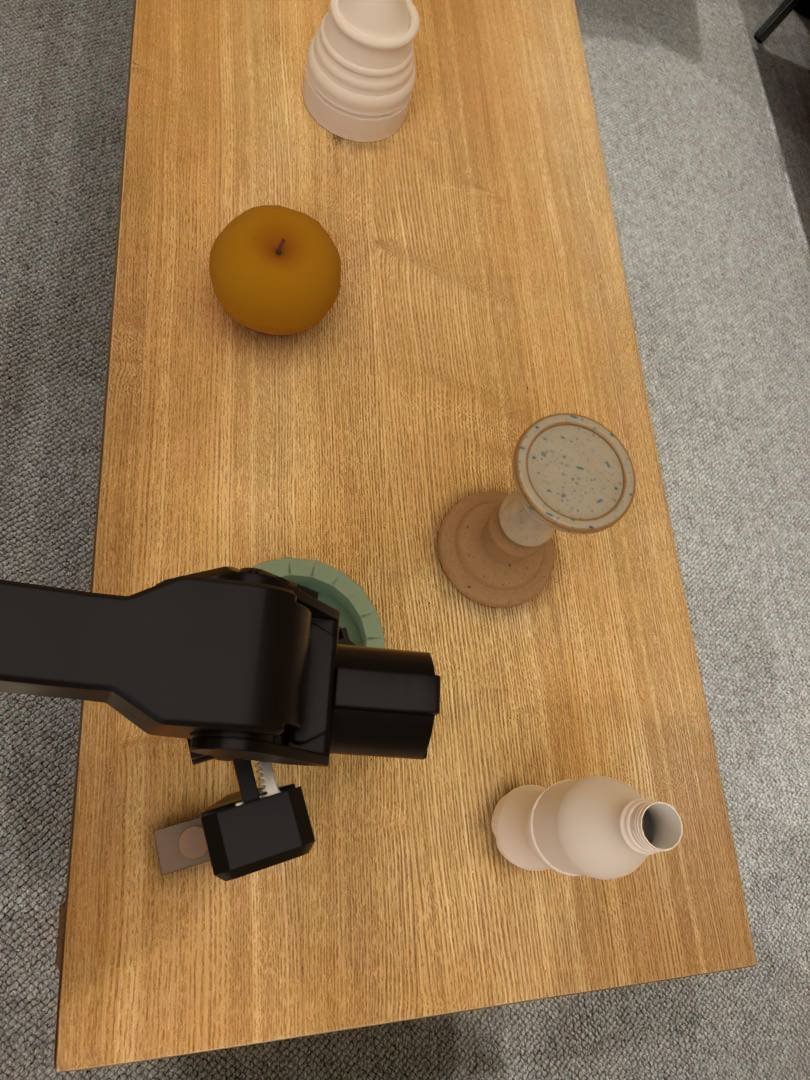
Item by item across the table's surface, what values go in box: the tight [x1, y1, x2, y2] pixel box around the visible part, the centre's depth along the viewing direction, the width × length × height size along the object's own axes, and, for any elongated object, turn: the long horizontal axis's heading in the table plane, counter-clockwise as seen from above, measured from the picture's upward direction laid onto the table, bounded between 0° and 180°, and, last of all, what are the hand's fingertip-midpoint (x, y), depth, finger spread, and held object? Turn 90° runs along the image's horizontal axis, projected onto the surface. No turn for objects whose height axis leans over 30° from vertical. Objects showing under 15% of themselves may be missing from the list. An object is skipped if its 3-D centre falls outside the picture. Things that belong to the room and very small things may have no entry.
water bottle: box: [490, 775, 684, 881], centre depth 63 cm, size 7×7×25 cm
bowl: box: [252, 557, 385, 648], centre depth 71 cm, size 15×15×7 cm
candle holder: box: [437, 412, 637, 609], centre depth 73 cm, size 12×12×20 cm
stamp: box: [153, 816, 211, 876], centre depth 64 cm, size 6×4×7 cm, turn 106°
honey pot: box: [301, 0, 421, 143], centre depth 90 cm, size 13×13×18 cm
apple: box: [208, 204, 342, 336], centre depth 81 cm, size 13×13×11 cm
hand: (225, 730), depth 59 cm, fingers open, 9 cm apart
